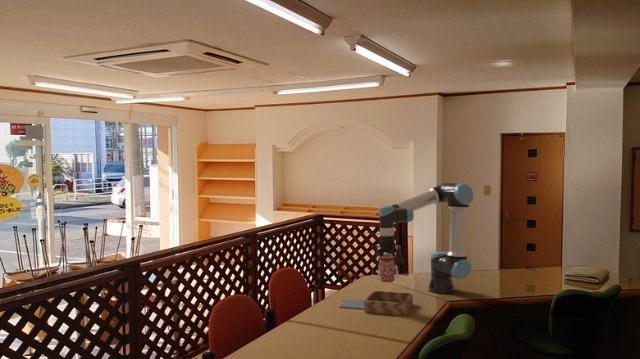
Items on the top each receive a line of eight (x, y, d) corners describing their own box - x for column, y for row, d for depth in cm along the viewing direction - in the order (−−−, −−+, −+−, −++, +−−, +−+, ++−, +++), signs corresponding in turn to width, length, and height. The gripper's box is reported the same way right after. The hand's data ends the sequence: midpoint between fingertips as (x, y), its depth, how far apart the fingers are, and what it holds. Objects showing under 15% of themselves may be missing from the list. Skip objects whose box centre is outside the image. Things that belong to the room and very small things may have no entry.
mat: (370, 301, 267) (370, 300, 267) (364, 309, 254) (364, 308, 254) (347, 300, 272) (347, 299, 272) (339, 307, 259) (339, 306, 259)
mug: (385, 283, 248) (385, 258, 247) (375, 280, 256) (374, 255, 255) (404, 279, 254) (404, 254, 253) (394, 276, 262) (393, 252, 261)
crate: (412, 304, 261) (412, 293, 261) (406, 315, 242) (405, 303, 242) (373, 301, 269) (373, 290, 269) (364, 312, 250) (363, 300, 250)
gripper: (408, 234, 254) (410, 276, 255) (369, 233, 261) (370, 274, 262) (406, 236, 247) (407, 279, 248) (365, 235, 254) (367, 277, 255)
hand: (388, 276), depth 255 cm, fingers closed on mug, 9 cm apart
